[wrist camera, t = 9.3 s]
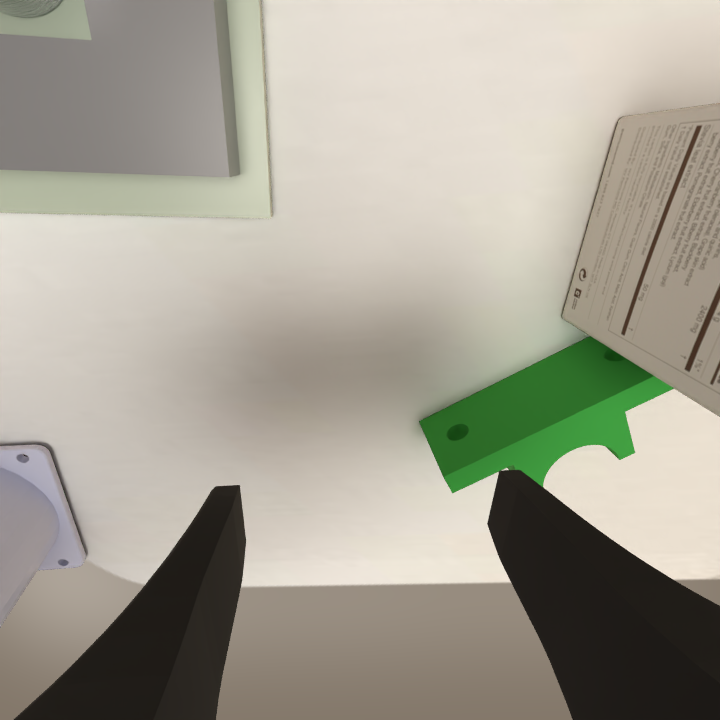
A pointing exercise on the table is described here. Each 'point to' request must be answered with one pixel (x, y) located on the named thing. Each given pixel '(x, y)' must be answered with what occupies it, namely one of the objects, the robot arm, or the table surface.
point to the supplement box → (657, 251)
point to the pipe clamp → (541, 415)
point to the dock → (135, 110)
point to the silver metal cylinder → (27, 7)
